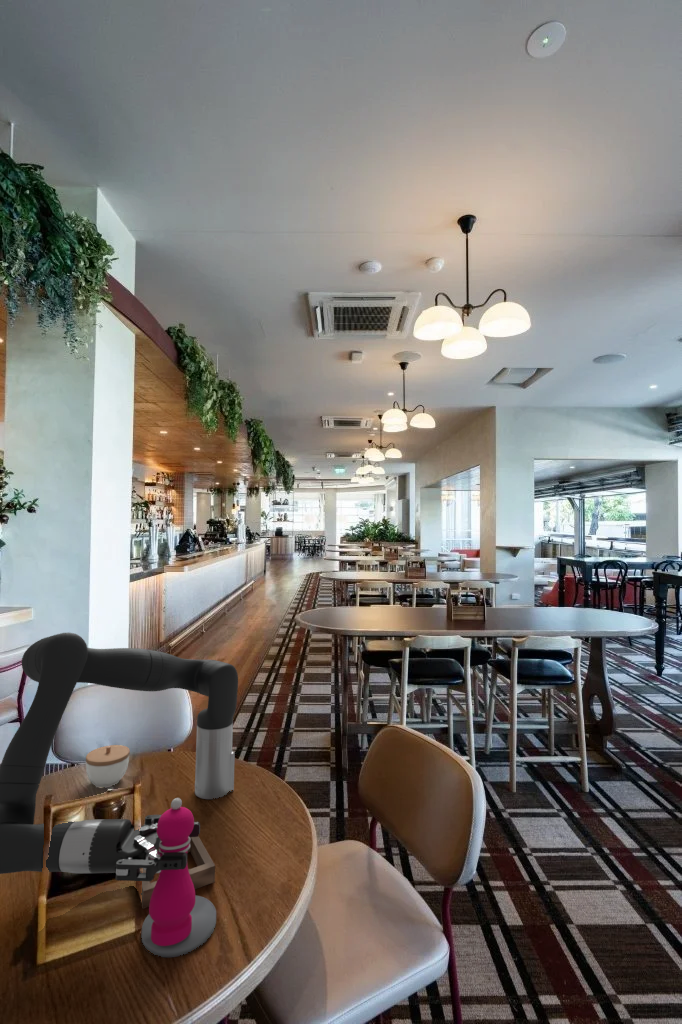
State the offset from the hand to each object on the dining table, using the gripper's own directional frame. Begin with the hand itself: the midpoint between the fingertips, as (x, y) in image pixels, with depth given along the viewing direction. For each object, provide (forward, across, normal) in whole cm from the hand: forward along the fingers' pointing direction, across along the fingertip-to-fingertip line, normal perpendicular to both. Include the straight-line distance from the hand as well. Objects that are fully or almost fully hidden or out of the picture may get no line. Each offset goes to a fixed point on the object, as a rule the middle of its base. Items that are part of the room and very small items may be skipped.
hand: (193, 844), depth 82 cm
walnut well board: (-7, +13, +14) cm, 20 cm away
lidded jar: (-35, +50, +14) cm, 63 cm away
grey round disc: (-2, 0, +14) cm, 14 cm away
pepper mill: (-2, -3, +12) cm, 13 cm away
